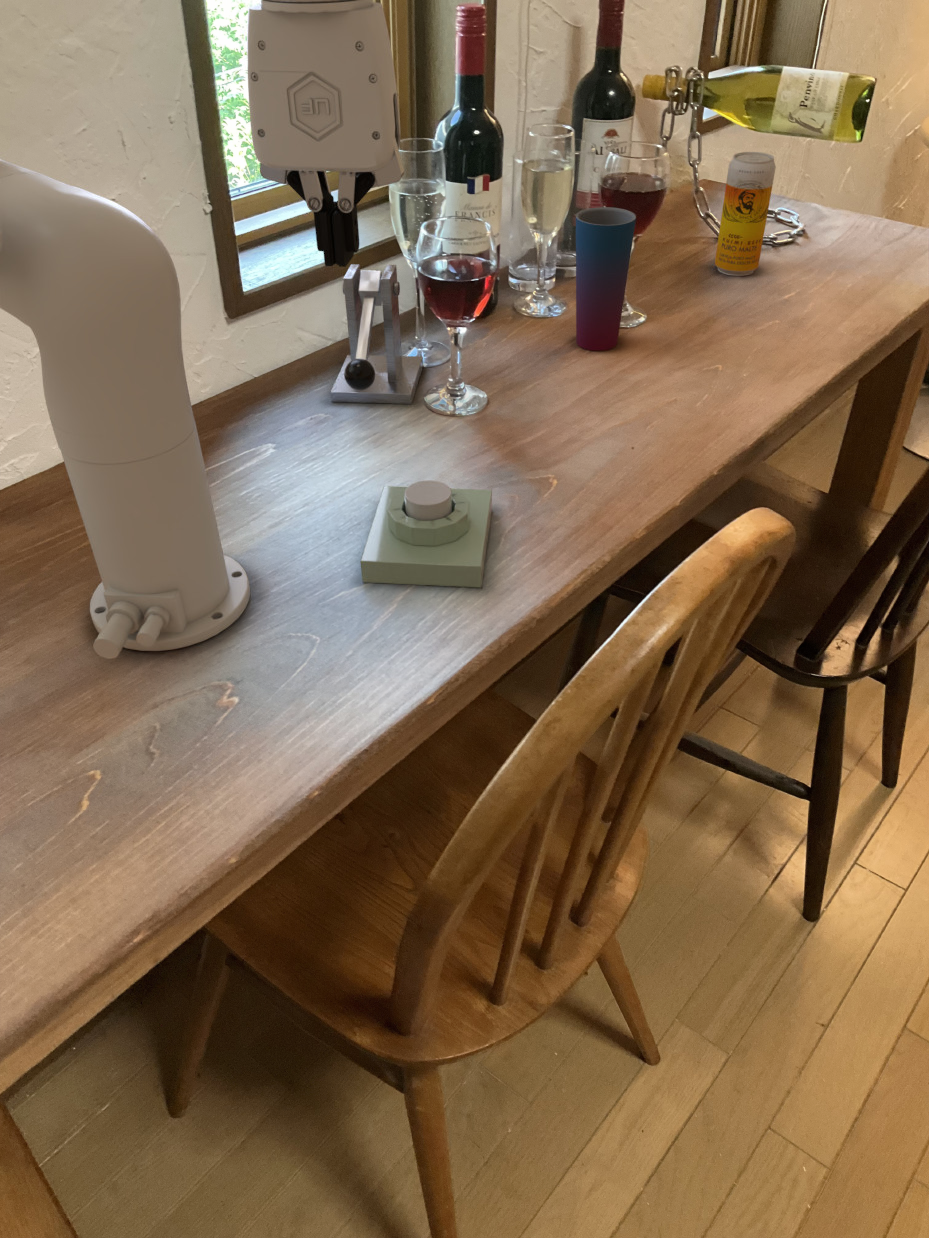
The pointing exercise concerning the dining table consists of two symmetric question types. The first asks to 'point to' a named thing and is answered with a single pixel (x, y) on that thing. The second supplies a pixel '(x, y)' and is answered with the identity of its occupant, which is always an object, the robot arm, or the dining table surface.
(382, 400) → the lever bracket
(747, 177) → the beer can
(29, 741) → the dining table surface
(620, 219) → the cup
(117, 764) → the dining table surface
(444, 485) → the beige push button
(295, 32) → the robot arm
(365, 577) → the block
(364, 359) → the flush lever
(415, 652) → the dining table surface
